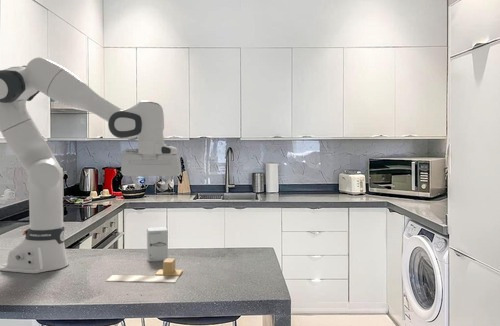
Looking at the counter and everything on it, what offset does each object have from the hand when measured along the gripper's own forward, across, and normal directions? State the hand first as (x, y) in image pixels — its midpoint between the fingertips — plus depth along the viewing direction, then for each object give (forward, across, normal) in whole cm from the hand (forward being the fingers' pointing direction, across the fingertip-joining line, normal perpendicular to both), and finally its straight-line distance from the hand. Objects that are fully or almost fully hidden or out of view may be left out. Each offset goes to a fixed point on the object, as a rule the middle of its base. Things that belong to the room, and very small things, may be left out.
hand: (151, 189), depth 158 cm
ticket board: (+29, 0, -8) cm, 30 cm away
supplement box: (+29, -2, +15) cm, 33 cm away
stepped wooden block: (+28, +7, -4) cm, 29 cm away
